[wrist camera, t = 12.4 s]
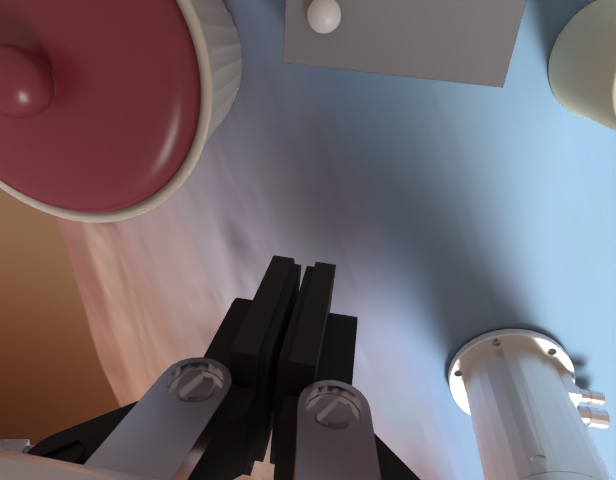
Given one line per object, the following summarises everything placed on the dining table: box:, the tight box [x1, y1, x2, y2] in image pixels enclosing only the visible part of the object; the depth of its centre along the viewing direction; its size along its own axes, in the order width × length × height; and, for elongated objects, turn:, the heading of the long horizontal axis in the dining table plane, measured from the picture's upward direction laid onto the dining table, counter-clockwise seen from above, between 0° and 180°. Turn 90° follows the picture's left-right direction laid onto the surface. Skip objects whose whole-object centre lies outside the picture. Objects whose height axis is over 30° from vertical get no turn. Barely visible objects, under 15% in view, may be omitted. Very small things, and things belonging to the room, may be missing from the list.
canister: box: [0, 0, 243, 223], centre depth 31 cm, size 18×18×21 cm
